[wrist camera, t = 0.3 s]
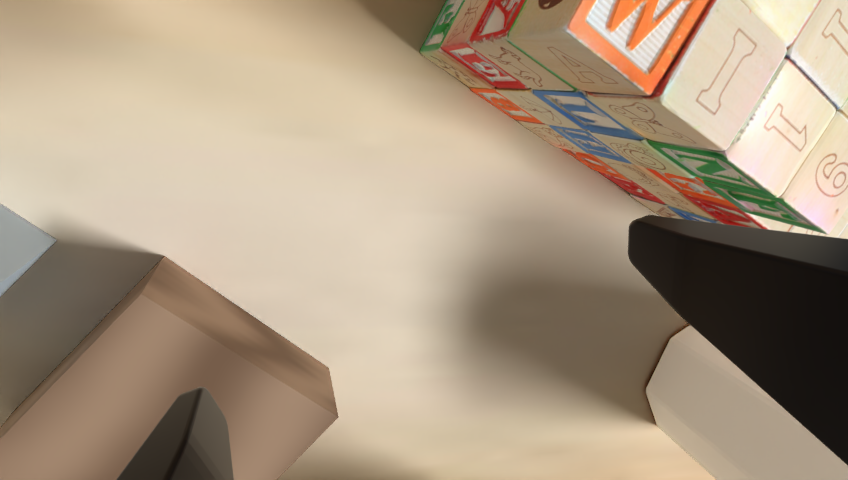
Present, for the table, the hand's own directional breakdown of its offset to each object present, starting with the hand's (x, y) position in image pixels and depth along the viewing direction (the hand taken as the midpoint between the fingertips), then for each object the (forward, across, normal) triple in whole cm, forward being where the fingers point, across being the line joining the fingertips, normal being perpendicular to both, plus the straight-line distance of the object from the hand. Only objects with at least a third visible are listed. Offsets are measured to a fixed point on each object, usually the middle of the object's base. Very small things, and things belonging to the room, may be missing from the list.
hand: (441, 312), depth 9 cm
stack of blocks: (+14, -15, +2) cm, 21 cm away
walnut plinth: (+13, +11, +9) cm, 19 cm away
